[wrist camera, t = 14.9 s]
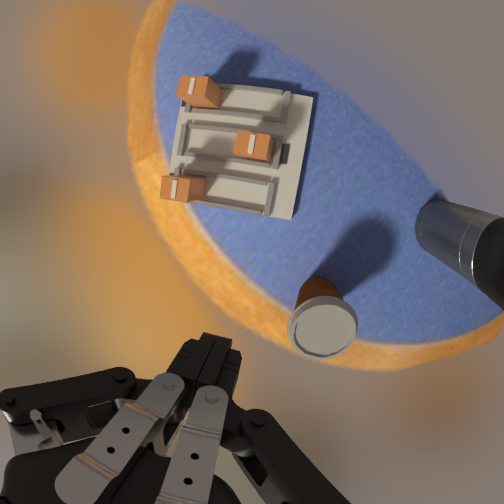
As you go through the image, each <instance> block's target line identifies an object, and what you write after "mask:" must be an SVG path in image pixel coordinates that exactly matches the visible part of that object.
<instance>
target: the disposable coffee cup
mask: <svg viewBox="0 0 504 504" xmlns="http://www.w3.org/2000/svg"><path fill="white" fill-rule="evenodd" d="M357 329H358V319H357V316H356V313H355V311H354V310H353V308H352V307H351V306H350V305H349V304H348V303H347V302H345V301H344V300H343V298H342V297H341V296H340V294H339V293H338V291H337V290H336V288H335V287H334V285H333V284H332V283H331V282H330V281H328V280H327V279H324V278H312V279H310V280H308V281H306V282H305V283H304V284H303V285H302V287H301V289H300V291H299V295H298V299H297V302H296V306H295V310H294V312H293V313H292V315H291V316H290V318H289V321H288V325H287V333H288V337H289V340H290V342H291V343H292V345H293V346H294V347H295V348H296V350H297V351H298V352H299V353H301V354H302V355H304V356H306V357H308V358H311V359H317V360H324V359H329V358H334V357H336V356H338V355H340V354H341V353H343V352H344V351H346V350H347V349H348V348H349V347H350V345H351V344H352V342H353V340H354V338H355V335H356V332H357Z"/></svg>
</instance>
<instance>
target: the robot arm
mask: <svg viewBox="0 0 504 504" xmlns="http://www.w3.org/2000/svg"><path fill="white" fill-rule="evenodd" d="M415 229H416V237H417V240H418V242H419V244H420V245H421V247H422V248H423V249H424V250H426V251H427V252H429V253H430V254H432V255H433V256H434V257H436V258H437V259H439V260H440V261H442V262H443V263H444V264H446V265H447V266H449V267H450V268H451V269H453V270H454V271H456V272H457V273H458V274H460V275H461V276H462V277H464V278H465V279H467V280H468V281H469V282H471V283H472V284H473V285H475V286H476V287H477V288H479V289H480V290H481V291H482V292H484V293H485V294H486V295H487V296H488V297H489V298H490V299H491V300H493V301H494V302H495V303H496V304H497V305H498V306H500V307H501V308H502V309H503V310H504V218H503V217H500V216H497V215H494V214H490V213H487V212H483V211H480V210H477V209H473V208H470V207H466V206H462V205H459V204H455V203H451V202H447V201H443V200H433V201H431V202H428V203H427V204H426V205H425V206H424V207H423V208H422V209H421V211H420V213H419V214H418V217H417V220H416V226H415ZM231 346H232V339H229V338H225V337H221V336H217V335H213V334H209V333H205V332H203V334H202V335H201V337H200V339H199V340H195V339H190V340H188V341H187V342H185V343H184V344H183V346H182V347H181V349H180V351H179V352H178V354H177V355H176V357H175V358H174V360H173V361H172V363H171V365H170V366H169V368H168V369H167V371H166V373H162V374H159V375H157V376H156V377H155V378H154V379H153V380H146V379H137V378H135V375H134V373H133V372H132V371H131V370H129V369H127V368H124V367H115V368H111V369H107V370H103V371H98V372H94V373H90V374H85V375H81V376H76V377H71V378H67V379H62V380H57V381H51V382H46V383H41V384H35V385H29V386H22V387H16V388H9V389H5V390H3V391H2V392H1V393H0V410H1V411H2V413H3V414H4V416H5V419H6V420H7V422H8V423H9V428H10V433H11V438H12V442H13V447H14V451H15V455H16V456H15V457H13V458H12V459H11V460H10V461H9V462H8V463H7V465H6V468H5V473H4V482H3V488H2V491H1V494H0V504H241V502H240V501H239V499H238V497H237V496H236V494H235V493H234V491H233V490H232V488H231V487H230V486H229V485H228V484H227V483H226V482H225V481H223V480H222V479H221V478H219V477H218V476H216V475H215V474H214V469H215V464H216V460H217V455H218V449H219V445H220V446H222V447H224V448H226V449H228V450H229V451H231V452H232V455H233V457H234V459H235V460H236V461H237V463H238V465H239V466H240V468H241V469H242V471H243V472H244V474H245V475H246V477H247V478H248V479H249V481H250V482H251V484H252V485H253V486H254V488H255V489H256V491H257V492H258V494H259V495H260V496H261V497H262V499H263V500H264V502H265V503H266V504H351V503H350V502H349V501H348V500H347V499H346V498H345V497H344V496H343V495H342V494H341V493H340V492H339V491H338V490H337V489H336V488H335V487H334V486H333V485H332V484H331V483H330V482H329V481H328V480H327V479H326V478H325V477H324V475H323V474H322V473H321V472H320V471H319V470H318V469H317V468H316V467H315V466H314V465H313V464H312V462H311V461H310V460H309V459H308V458H307V457H306V456H305V454H304V453H303V452H302V451H301V450H300V449H299V448H298V447H297V445H296V444H295V443H294V442H293V441H292V439H291V438H290V437H289V436H288V435H287V433H286V432H285V431H284V430H283V429H282V427H281V426H280V425H279V424H278V422H277V421H276V420H275V419H274V417H273V416H272V415H271V414H270V413H268V412H266V411H264V410H260V409H251V410H248V411H246V410H244V409H242V408H240V407H239V406H237V405H236V404H235V403H234V401H233V400H232V396H233V392H234V389H235V386H236V382H237V379H238V374H239V370H240V365H241V360H242V357H241V353H240V351H237V350H233V349H231ZM108 401H110V402H108ZM104 402H106V403H104ZM100 403H103V404H100ZM96 404H99V405H96ZM92 405H95V406H92ZM89 406H91V407H89ZM187 411H188V412H189V415H188V419H187V421H186V424H185V426H183V427H182V429H181V431H180V434H179V437H178V440H177V443H176V446H175V449H174V452H173V455H172V458H170V457H166V453H167V450H168V448H169V447H170V445H171V443H172V442H173V440H174V438H175V436H176V435H177V433H178V431H179V429H180V428H181V426H182V424H183V421H184V417H185V415H186V413H187ZM98 434H99V435H98ZM95 435H98V436H97V437H91V436H95ZM87 437H91V438H88V439H84V440H80V441H77V442H73V443H69V444H65V445H63V443H66V442H70V441H74V440H79V439H83V438H87Z"/></svg>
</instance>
